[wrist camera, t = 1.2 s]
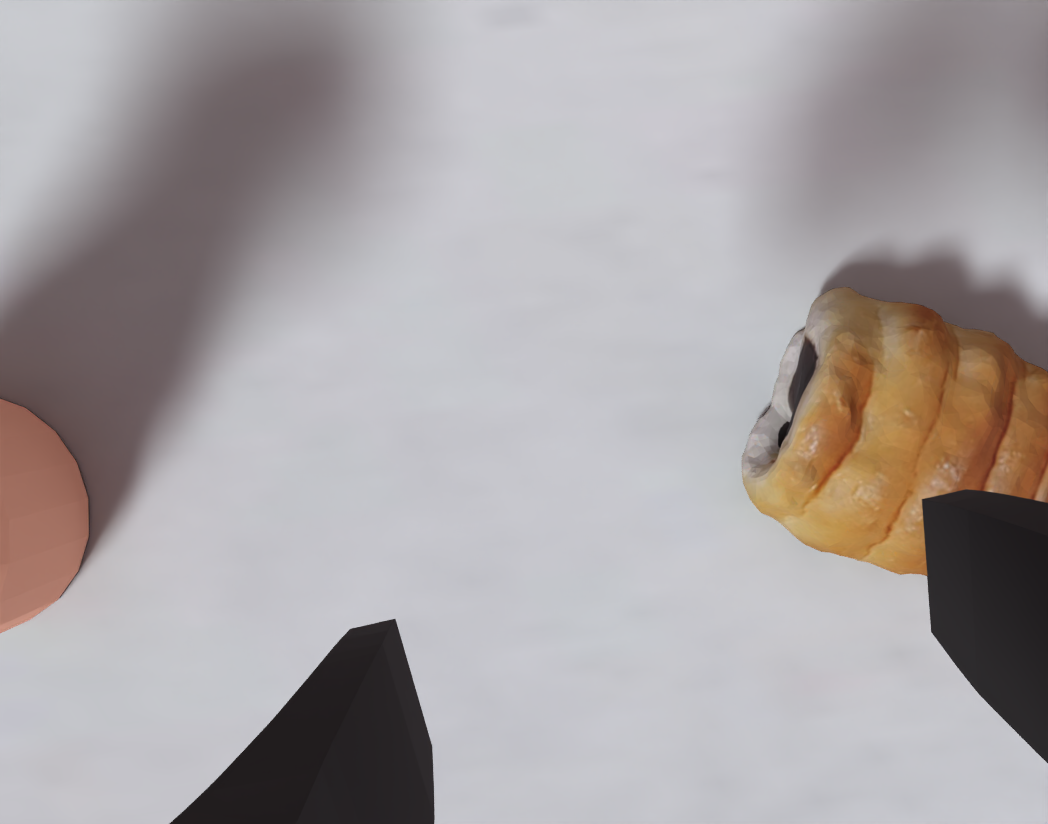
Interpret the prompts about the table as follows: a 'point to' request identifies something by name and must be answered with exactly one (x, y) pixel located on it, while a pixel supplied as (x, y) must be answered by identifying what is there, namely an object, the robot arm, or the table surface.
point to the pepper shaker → (37, 516)
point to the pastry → (892, 427)
